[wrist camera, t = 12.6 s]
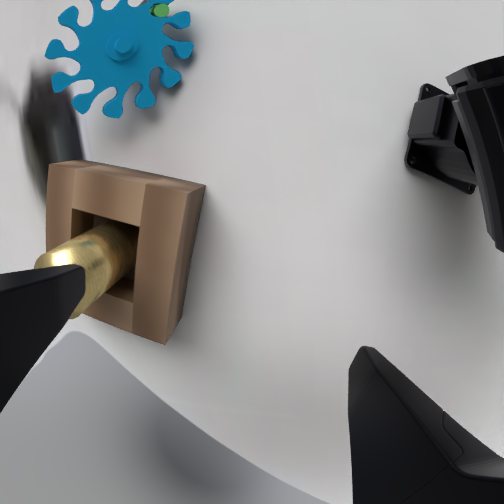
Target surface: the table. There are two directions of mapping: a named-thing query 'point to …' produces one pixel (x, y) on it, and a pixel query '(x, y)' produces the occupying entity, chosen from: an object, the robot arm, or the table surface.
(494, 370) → the table surface
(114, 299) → the socket block
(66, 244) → the pin
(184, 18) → the gear
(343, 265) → the table surface
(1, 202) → the table surface
